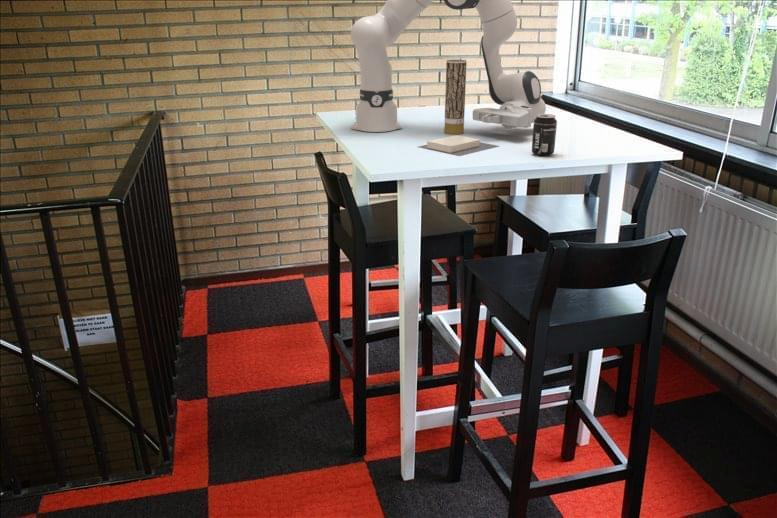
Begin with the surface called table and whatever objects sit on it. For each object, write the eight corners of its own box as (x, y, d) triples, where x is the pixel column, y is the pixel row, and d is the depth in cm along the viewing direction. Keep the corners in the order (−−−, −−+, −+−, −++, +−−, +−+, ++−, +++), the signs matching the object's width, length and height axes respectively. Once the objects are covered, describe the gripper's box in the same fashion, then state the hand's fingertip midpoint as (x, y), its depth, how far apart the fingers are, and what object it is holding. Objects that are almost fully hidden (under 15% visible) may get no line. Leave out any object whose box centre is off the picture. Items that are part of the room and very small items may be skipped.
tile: (456, 135, 218) (427, 141, 209) (479, 139, 211) (450, 146, 202) (456, 142, 219) (426, 148, 210) (479, 146, 212) (450, 153, 203)
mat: (457, 139, 225) (457, 137, 225) (499, 147, 213) (500, 146, 213) (416, 148, 212) (416, 146, 212) (459, 157, 200) (459, 156, 200)
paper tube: (441, 135, 231) (443, 61, 222) (447, 131, 237) (449, 59, 228) (460, 136, 229) (463, 61, 220) (465, 132, 235) (468, 59, 225)
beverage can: (531, 151, 207) (534, 113, 203) (553, 152, 206) (557, 113, 201) (531, 156, 201) (534, 117, 196) (554, 157, 200) (557, 117, 195)
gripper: (487, 102, 232) (461, 106, 224) (536, 108, 218) (510, 113, 210) (486, 120, 235) (461, 125, 226) (534, 127, 221) (509, 133, 212)
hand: (485, 119), depth 218 cm, fingers closed
